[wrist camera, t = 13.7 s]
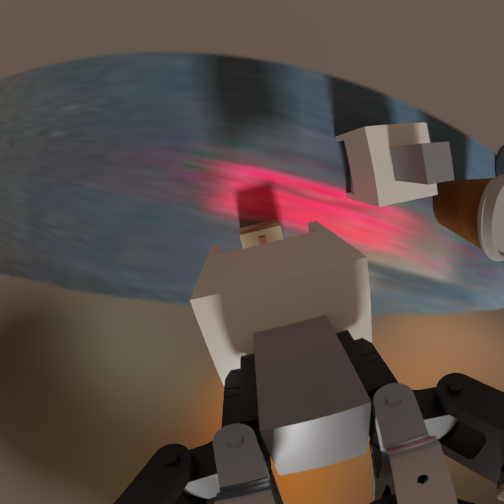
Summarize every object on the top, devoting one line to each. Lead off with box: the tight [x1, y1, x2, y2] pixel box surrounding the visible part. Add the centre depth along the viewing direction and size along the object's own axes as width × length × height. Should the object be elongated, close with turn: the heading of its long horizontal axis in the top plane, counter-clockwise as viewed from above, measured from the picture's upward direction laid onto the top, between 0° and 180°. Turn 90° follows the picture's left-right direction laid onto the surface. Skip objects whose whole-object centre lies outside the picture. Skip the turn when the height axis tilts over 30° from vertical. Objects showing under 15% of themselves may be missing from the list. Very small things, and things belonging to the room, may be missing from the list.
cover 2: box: [335, 123, 454, 207], centre depth 22 cm, size 7×7×13 cm
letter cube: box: [240, 219, 284, 249], centre depth 29 cm, size 4×4×4 cm
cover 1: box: [190, 221, 372, 476], centre depth 13 cm, size 7×7×13 cm
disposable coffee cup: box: [433, 175, 504, 262], centre depth 24 cm, size 10×10×12 cm
